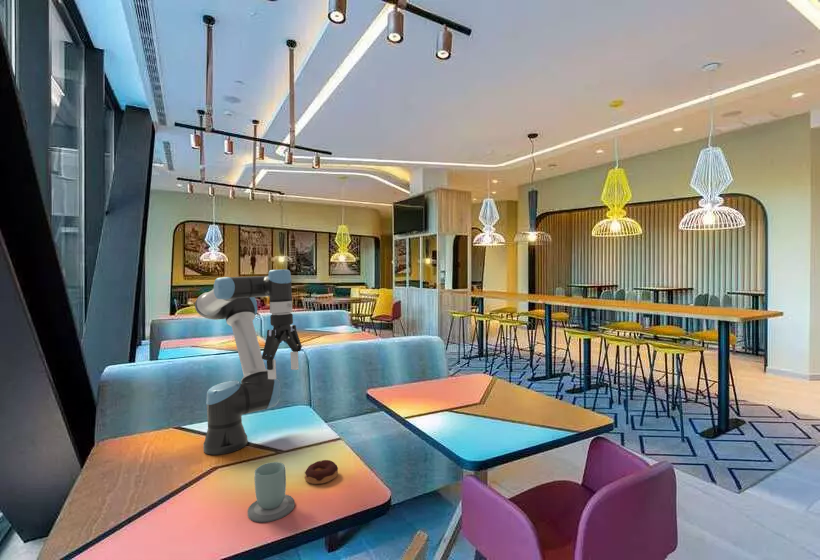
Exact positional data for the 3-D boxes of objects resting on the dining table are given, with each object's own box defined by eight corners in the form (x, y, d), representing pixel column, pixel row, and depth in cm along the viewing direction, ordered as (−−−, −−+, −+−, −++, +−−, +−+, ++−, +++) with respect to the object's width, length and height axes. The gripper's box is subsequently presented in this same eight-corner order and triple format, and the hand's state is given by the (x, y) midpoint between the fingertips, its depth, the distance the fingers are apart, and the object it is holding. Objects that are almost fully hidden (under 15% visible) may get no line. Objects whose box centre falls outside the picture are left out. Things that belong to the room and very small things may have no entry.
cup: (277, 514, 105) (275, 476, 105) (250, 512, 107) (248, 474, 107) (291, 498, 113) (290, 462, 113) (266, 496, 114) (265, 461, 114)
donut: (307, 489, 119) (307, 476, 119) (302, 475, 128) (301, 462, 128) (341, 481, 124) (341, 468, 123) (333, 467, 132) (333, 455, 132)
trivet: (237, 518, 106) (237, 515, 106) (266, 494, 117) (266, 491, 117) (277, 525, 102) (277, 521, 102) (303, 499, 114) (302, 496, 114)
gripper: (268, 317, 129) (271, 383, 129) (309, 310, 153) (312, 366, 153) (248, 317, 131) (251, 383, 131) (292, 310, 155) (294, 365, 155)
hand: (284, 374), depth 142 cm, fingers open, 13 cm apart
